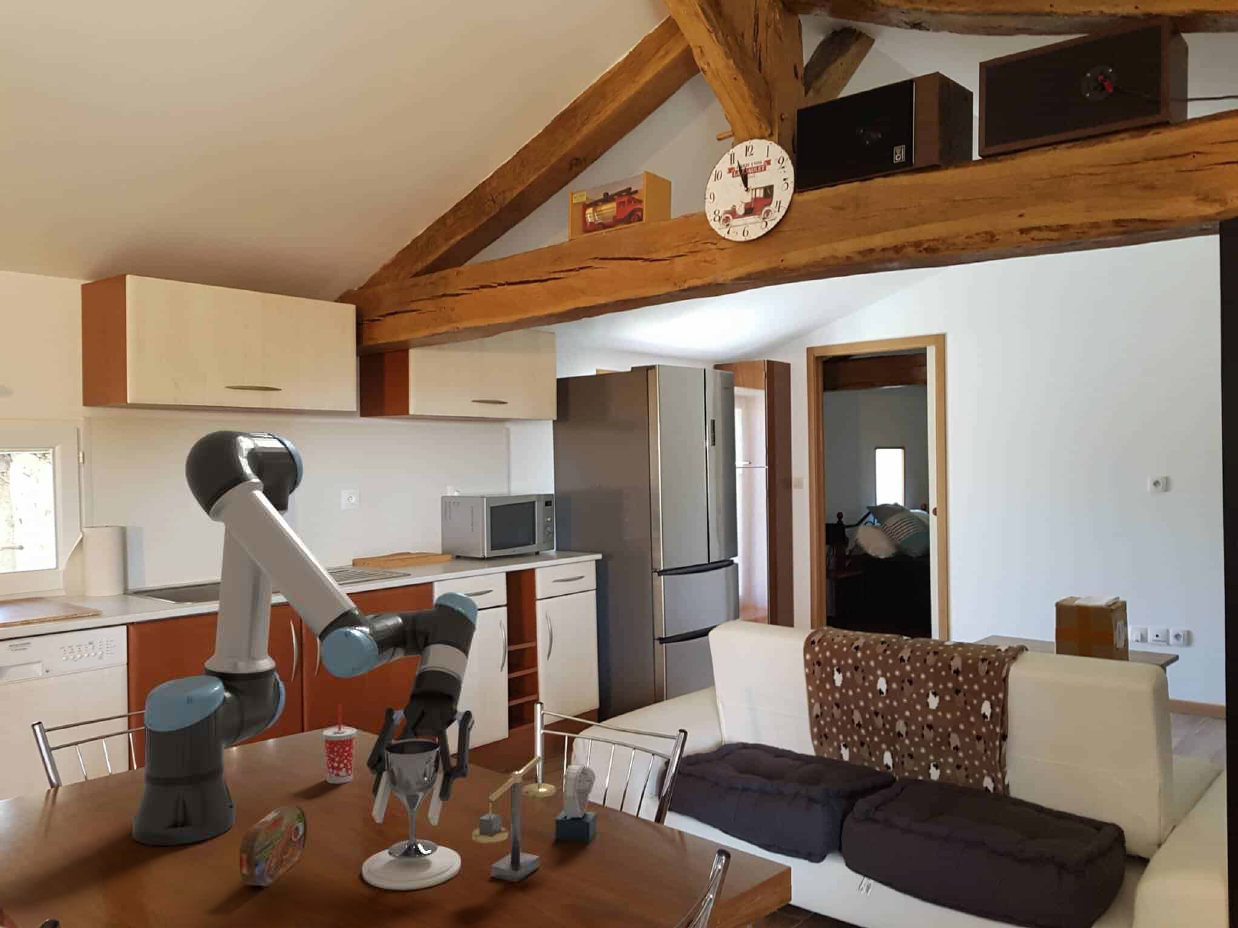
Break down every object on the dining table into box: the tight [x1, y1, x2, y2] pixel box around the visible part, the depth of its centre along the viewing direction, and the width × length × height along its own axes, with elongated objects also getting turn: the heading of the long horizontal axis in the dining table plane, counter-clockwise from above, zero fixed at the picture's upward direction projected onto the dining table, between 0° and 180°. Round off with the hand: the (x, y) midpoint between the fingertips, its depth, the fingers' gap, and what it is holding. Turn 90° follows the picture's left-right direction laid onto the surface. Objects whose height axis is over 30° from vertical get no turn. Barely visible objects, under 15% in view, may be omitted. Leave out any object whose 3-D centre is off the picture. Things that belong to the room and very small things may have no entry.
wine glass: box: [385, 738, 441, 859], centre depth 141 cm, size 8×8×15 cm
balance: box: [471, 755, 557, 883], centre depth 140 cm, size 18×5×15 cm, turn 153°
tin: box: [238, 805, 308, 887], centre depth 139 cm, size 15×3×8 cm, turn 171°
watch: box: [555, 763, 597, 843], centre depth 153 cm, size 6×8×11 cm
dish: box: [361, 845, 462, 891], centre depth 140 cm, size 14×14×1 cm
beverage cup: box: [322, 704, 357, 784], centre depth 181 cm, size 6×6×14 cm
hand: (404, 819), depth 137 cm, fingers closed on wine glass, 7 cm apart
